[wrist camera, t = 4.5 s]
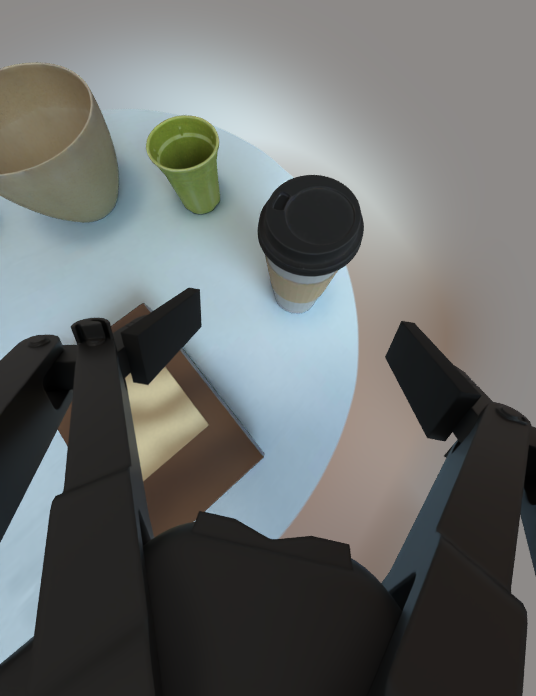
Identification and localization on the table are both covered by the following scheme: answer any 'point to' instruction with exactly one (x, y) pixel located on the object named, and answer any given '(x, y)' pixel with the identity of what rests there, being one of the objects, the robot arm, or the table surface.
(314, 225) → the coffee cup
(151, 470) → the wooden serving stand
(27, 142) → the beige round bowl
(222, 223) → the table surface
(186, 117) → the plant pot
